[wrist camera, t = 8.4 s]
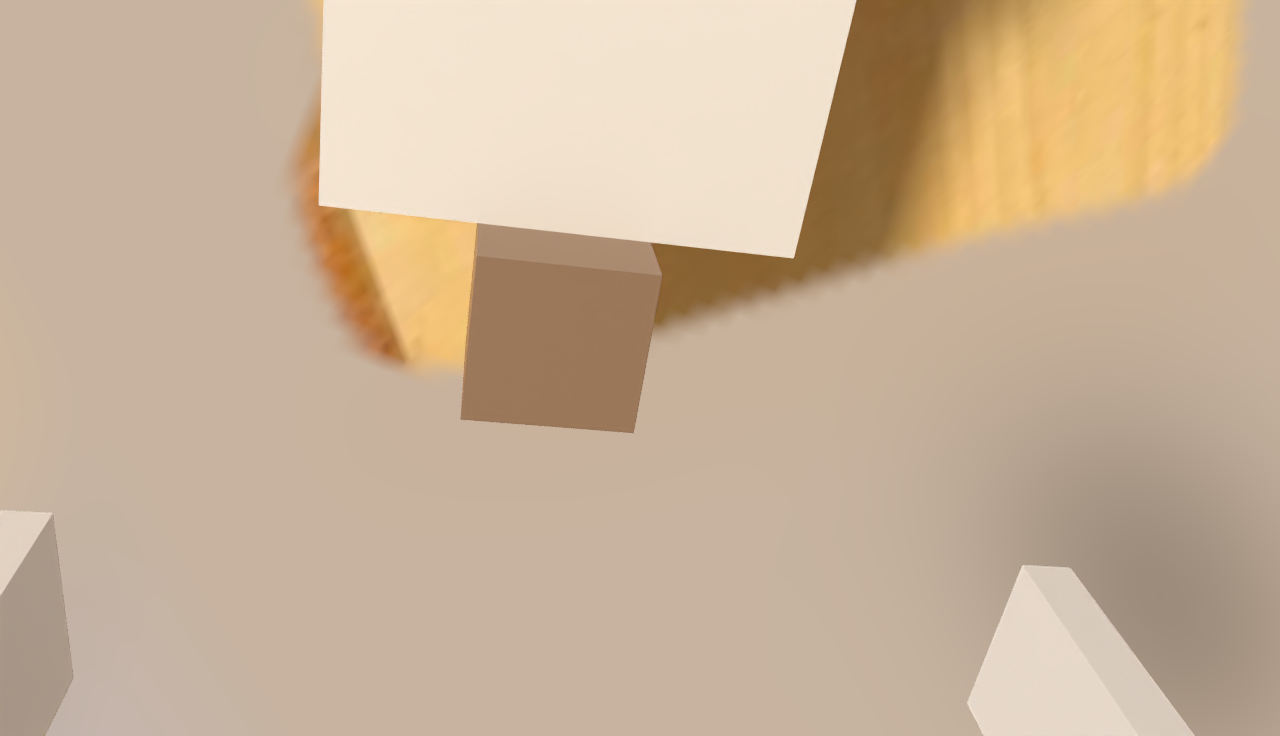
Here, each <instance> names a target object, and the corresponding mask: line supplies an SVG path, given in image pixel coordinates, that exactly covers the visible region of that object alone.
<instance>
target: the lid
mask: <svg viewBox="0 0 1280 736" xmlns="http://www.w3.org/2000/svg"><path fill="white" fill-rule="evenodd" d="M855 4H856V0H324V8H323V50H322V91H321V133H320V174H319V205H320V206H329V207H338V208H347V209H356V210H365V211H374V212H383V213H392V214H401V215H409V216H418V217H427V218H436V219H445V220H454V221H463V222H472V223H477V230H476V241H475V251H474V262H473V272H472V283H471V293H470V303H469V314H468V324H467V335H466V347H465V362H464V377H463V393H462V409H461V420H474V421H489V422H500V423H512V424H525V425H538V426H552V427H563V428H577V429H589V430H603V431H614V432H628V433H634V428H635V422H636V417H637V412H638V406H639V400H640V394H641V390H642V384H643V379H644V374H645V368H646V362H647V357H648V352H649V346H650V341H651V335H652V330H653V325H654V319H655V314H656V308H657V303H658V297H659V292H660V287H661V281H662V273H661V270H660V267H659V264H658V261H657V259H656V256H655V253H654V250H653V247H652V244H651V243H660V244H669V245H678V246H687V247H696V248H705V249H714V250H723V251H732V252H741V253H750V254H759V255H767V256H776V257H785V258H794V256H795V251H796V247H797V243H798V239H799V235H800V231H801V227H802V223H803V218H804V214H805V210H806V206H807V202H808V198H809V194H810V190H811V186H812V181H813V177H814V173H815V169H816V165H817V161H818V157H819V153H820V148H821V144H822V140H823V136H824V132H825V128H826V124H827V120H828V116H829V111H830V107H831V103H832V99H833V95H834V91H835V87H836V83H837V78H838V74H839V70H840V66H841V62H842V58H843V54H844V50H845V46H846V41H847V37H848V33H849V29H850V25H851V21H852V17H853V13H854V8H855Z"/></svg>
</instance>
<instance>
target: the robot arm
mask: <svg viewBox="0 0 1280 736" xmlns="http://www.w3.org/2000/svg"><path fill="white" fill-rule="evenodd" d="M72 680H73V670H72V661H71V653H70V645H69V637H68V629H67V622H66V614H65V606H64V598H63V589H62V582H61V573H60V565H59V557H58V550H57V542H56V534H55V526H54V518H53V513H42V512H22V511H5V510H3V511H2V510H0V736H45V735H46V733H47V731H48V729H49V727H50V725H51V723H52V721H53V719H54V717H55V715H56V713H57V711H58V709H59V706H60V705H61V702H62V700H63V698H64V696H65V694H66V692H67V690H68V688H69V686H70V684H71V682H72ZM967 705H968V707H969V708H970V710H971V712H972V714H973V716H974V718H975V720H976V722H977V724H978V726H979V728H980V730H981V732H982V734H983V736H1195V735H1194V734H1193V733H1192V731H1191V730H1190V729H1189V727H1188V726H1187V725H1186V723H1185V722H1184V721H1183V719H1182V718H1181V716H1180V715H1179V714H1178V713H1177V711H1176V710H1175V709H1174V707H1173V706H1172V704H1171V703H1170V702H1169V700H1168V699H1167V698H1166V696H1165V695H1164V694H1163V692H1162V691H1161V689H1160V688H1159V687H1158V685H1157V684H1156V683H1155V682H1154V680H1153V679H1152V677H1151V676H1150V675H1149V673H1148V672H1147V671H1146V669H1145V668H1144V667H1143V665H1142V664H1141V663H1140V661H1139V660H1138V658H1137V657H1136V656H1135V654H1134V653H1133V652H1132V650H1131V649H1130V648H1129V646H1128V645H1127V644H1126V642H1125V641H1124V640H1123V638H1122V637H1121V635H1120V634H1119V633H1118V632H1117V630H1116V629H1115V627H1114V626H1113V625H1112V623H1111V622H1110V621H1109V619H1108V618H1107V617H1106V615H1105V614H1104V613H1103V611H1102V610H1101V608H1100V607H1099V606H1098V604H1097V603H1096V602H1095V600H1094V599H1093V598H1092V596H1091V595H1090V594H1089V592H1088V591H1087V590H1086V588H1085V587H1084V586H1083V584H1082V583H1081V582H1080V580H1079V579H1078V578H1077V576H1076V575H1075V573H1074V572H1073V571H1072V570H1071V568H1067V567H1048V566H1028V565H1022V568H1021V570H1020V573H1019V575H1018V578H1017V580H1016V583H1015V585H1014V587H1013V590H1012V593H1011V595H1010V598H1009V600H1008V602H1007V605H1006V607H1005V610H1004V612H1003V615H1002V617H1001V620H1000V622H999V625H998V627H997V630H996V632H995V635H994V637H993V640H992V642H991V645H990V647H989V650H988V652H987V655H986V657H985V660H984V662H983V665H982V667H981V670H980V672H979V674H978V677H977V680H976V682H975V685H974V687H973V690H972V692H971V694H970V697H969V700H968V702H967Z"/></svg>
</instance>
